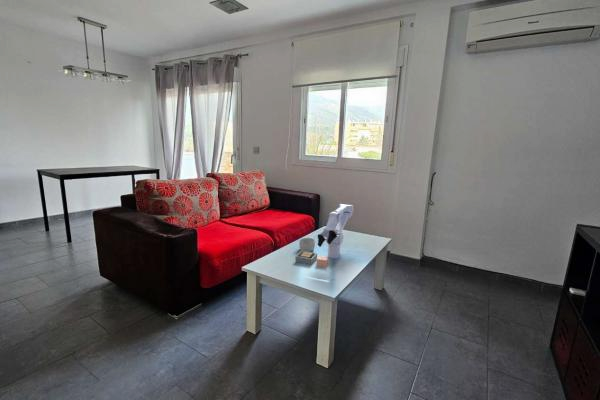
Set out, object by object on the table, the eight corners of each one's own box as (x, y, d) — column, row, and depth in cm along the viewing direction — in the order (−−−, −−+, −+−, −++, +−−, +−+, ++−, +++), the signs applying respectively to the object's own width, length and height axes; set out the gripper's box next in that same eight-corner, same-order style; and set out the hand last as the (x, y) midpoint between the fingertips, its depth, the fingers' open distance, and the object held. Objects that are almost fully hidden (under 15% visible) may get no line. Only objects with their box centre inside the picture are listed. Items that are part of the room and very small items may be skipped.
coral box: (318, 263, 173) (318, 256, 172) (327, 265, 171) (328, 257, 170) (316, 266, 169) (316, 258, 168) (325, 268, 167) (326, 260, 166)
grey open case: (311, 254, 187) (312, 243, 186) (296, 252, 191) (296, 241, 189) (317, 247, 200) (317, 237, 199) (303, 245, 204) (303, 235, 202)
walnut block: (303, 257, 180) (303, 252, 179) (312, 259, 177) (312, 253, 177) (300, 261, 174) (300, 255, 173) (309, 262, 172) (309, 256, 171)
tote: (301, 257, 183) (301, 250, 182) (316, 259, 179) (317, 253, 178) (295, 263, 173) (295, 256, 172) (311, 266, 169) (311, 259, 168)
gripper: (318, 225, 175) (310, 242, 167) (335, 220, 165) (328, 237, 157) (325, 233, 178) (318, 249, 169) (342, 227, 168) (336, 245, 159)
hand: (323, 244), depth 163 cm, fingers open, 7 cm apart
